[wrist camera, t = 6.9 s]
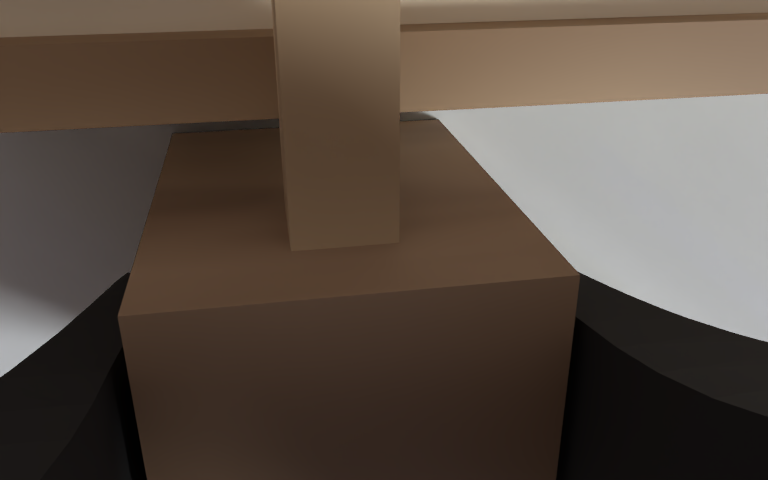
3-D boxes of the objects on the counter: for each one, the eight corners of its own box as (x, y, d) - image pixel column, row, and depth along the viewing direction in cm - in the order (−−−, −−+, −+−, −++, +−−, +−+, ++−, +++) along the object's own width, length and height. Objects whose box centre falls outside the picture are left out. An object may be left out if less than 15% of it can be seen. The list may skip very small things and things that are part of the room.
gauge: (433, 339, 15) (542, 590, 9) (202, 362, 14) (177, 648, 9) (447, -196, 11) (647, -293, 5) (129, -201, 10) (2, -320, 5)
